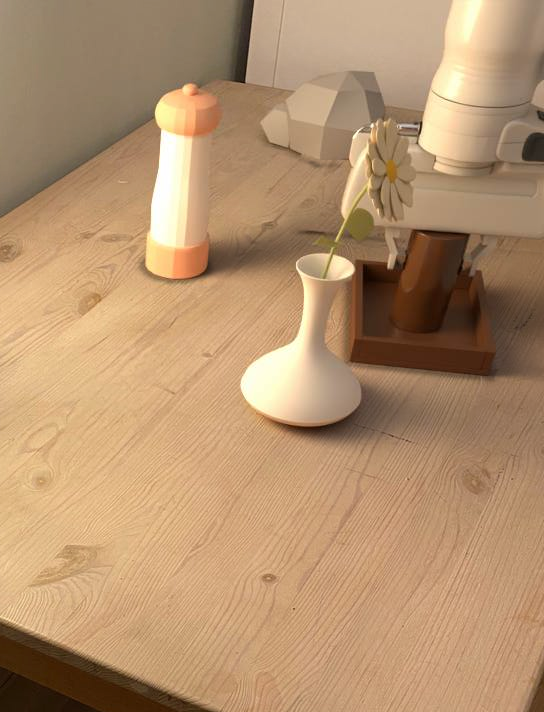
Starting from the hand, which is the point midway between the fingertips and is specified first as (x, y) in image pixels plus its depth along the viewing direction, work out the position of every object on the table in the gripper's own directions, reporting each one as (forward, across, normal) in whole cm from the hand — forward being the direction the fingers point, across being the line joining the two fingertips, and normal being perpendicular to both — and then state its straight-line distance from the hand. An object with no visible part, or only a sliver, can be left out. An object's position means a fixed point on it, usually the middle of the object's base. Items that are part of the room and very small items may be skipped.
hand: (429, 270), depth 97 cm
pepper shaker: (+6, -27, +9) cm, 29 cm away
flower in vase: (+6, -11, -17) cm, 21 cm away
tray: (+6, 0, 0) cm, 6 cm away
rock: (+6, -10, +52) cm, 53 cm away
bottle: (+6, 0, 0) cm, 6 cm away
